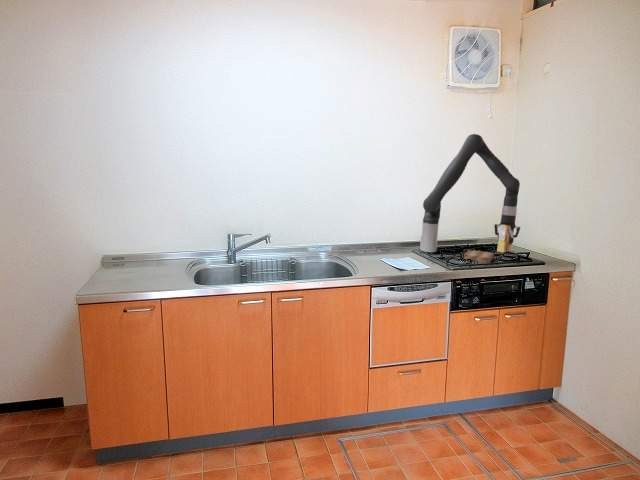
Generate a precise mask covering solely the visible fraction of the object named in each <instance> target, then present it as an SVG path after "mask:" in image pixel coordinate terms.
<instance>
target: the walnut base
mask: <svg viewBox="0 0 640 480" xmlns="http://www.w3.org/2000/svg"><path fill="white" fill-rule="evenodd" d="M463 259H471V260H473V261H472V262H479V263H485V264H490V263H491V261H492V260H493V259H494V252H488V251H480V250H471V249H468V250H467V251H466V252H465V253H464V254H463Z"/></svg>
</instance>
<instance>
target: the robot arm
mask: <svg viewBox="0 0 640 480" xmlns="http://www.w3.org/2000/svg"><path fill="white" fill-rule="evenodd" d="M475 154H477V155H478V156H479V157H480V158H481V160H482V161H483V162H484V163H485V164H486V166H487V167H488V169H489V170H490V171H491V172H492V173H493V175H494V176H495V177H497V179H498V180H499V181H500V183H501V184H502V185H503V186H504V188H505V195H504V198H503V206H502V210H501V217H500V223H495V224H494V225H493V226H494V227H493V228H494V234H495V235H496V236H497V241H498V240H499V231H498V228H500V225H510V226H509V232H510V235H511V239H510V244H512V245H513V244H514V238H518V235H519V233H520V231H521V226H517V225H516V217H517V211H518V210H517V205H518V196H519V191H520V186H521V182H520V181H519V179H518V178H516V177H515V176H514V175H513V174H512V173H511V172H510V171H509V169H508V167H507V166H506V165H505V164H504V163H503V162H502V161H501V160H500V159H499V158H498V157H497V156H496V155H495V154H494V153H493V152H492V151H491V149H490V148H489V147H488V145H487V143H486V142H485V141H484V138H483V137H482V136H481V135H480V134H477V133H471V134H470V135H468V136H467V137H466V139H465V141H464V142H463V144H462V146H461V148H460V149H459V151H458V153H457V154H456V156H455V157H454V158H453V159H452V161H451V162H450V163H449V164H448V165H447V167H446V168H445V170H444V172H443V173H442V175H441V176H440V177H439V180H438V181H437V183H436V185H435V187H434V188H433V189H432V191H431V192H430V193H429V195H427V197H426V198H425V199H424V200H423V203H422V206H423V209H424V216H423V217H422V218H423V219H422V231H421V235H420V241H419V242H420V244H419V246H420V247H419V251H420V252H425V253H436V252H437V248H438V235H439V222H440V218H441V207H442V201H443V199H444V197H445V196H446V195H447V194H448V192H449V191H450V190H452V188H453V187H454V186H455V185H456V183H458V181H459V179H460V178H461V177H462V175H463V173H464V172H465V169H466V168H467V165H468V163H469V161H470V160H471V159H472V157H473V156H474V155H475ZM513 229H514V230H515V231H516V232H515V234H514V233H513V231H512V230H513Z"/></svg>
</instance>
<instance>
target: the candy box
mask: <svg viewBox="0 0 640 480" xmlns="http://www.w3.org/2000/svg"><path fill="white" fill-rule="evenodd" d="M509 226H510V225H500V226H499V231H498V233H499V240H498V239H497V248H496V251H497V252H499V253H506V252H511V251H512V247H513V243H512V244H510V239H511V235H510V232H509ZM512 231H513V234H514V232H515V228H514V229H513V230H512Z"/></svg>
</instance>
